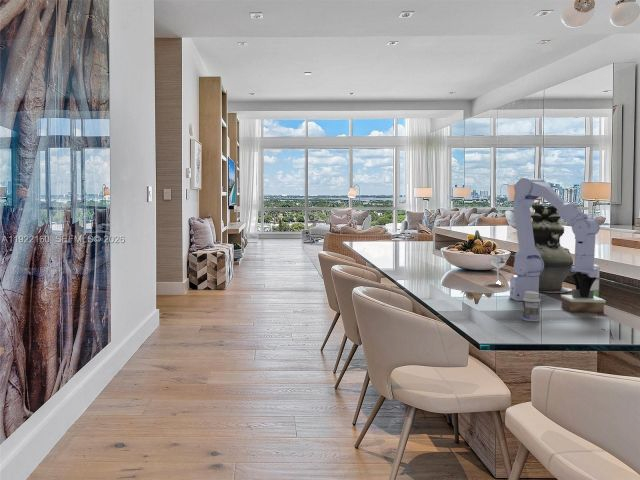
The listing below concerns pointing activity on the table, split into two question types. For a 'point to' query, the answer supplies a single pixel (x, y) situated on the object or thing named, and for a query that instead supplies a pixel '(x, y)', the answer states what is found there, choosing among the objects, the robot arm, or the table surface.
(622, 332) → the table surface
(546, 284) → the decorative urn
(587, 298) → the lid
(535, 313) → the pill bottle
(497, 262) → the wineglass
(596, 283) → the ink box
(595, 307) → the box
